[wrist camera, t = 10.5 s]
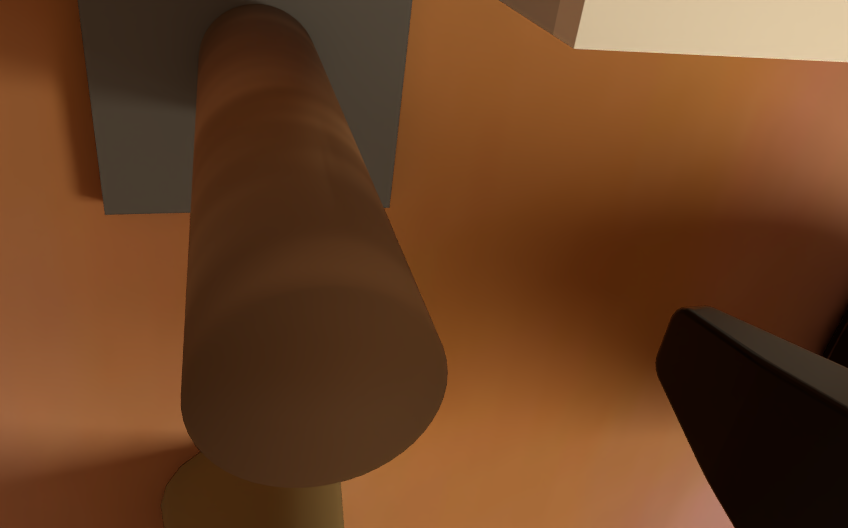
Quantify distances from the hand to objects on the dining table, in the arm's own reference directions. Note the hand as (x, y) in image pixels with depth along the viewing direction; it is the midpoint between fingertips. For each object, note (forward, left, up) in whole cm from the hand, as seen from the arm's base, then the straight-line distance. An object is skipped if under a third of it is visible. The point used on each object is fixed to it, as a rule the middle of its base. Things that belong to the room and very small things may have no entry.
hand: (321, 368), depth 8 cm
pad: (0, 0, -11) cm, 11 cm away
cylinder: (0, 0, -10) cm, 10 cm away
